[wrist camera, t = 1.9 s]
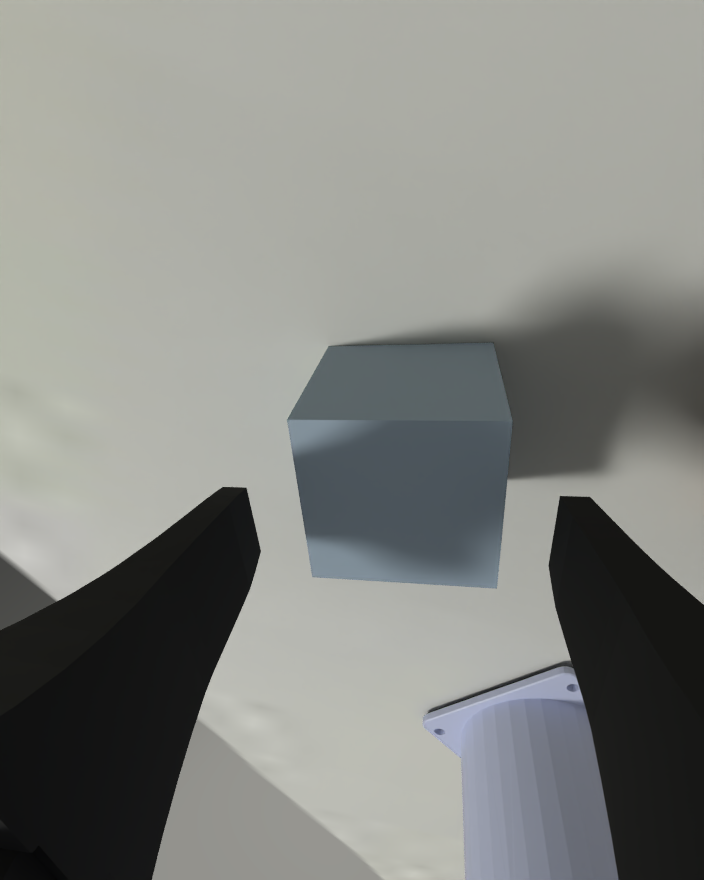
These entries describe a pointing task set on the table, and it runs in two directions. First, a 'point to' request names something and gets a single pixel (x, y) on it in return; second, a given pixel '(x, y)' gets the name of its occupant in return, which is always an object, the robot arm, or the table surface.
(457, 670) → the table surface
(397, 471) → the slate cube
